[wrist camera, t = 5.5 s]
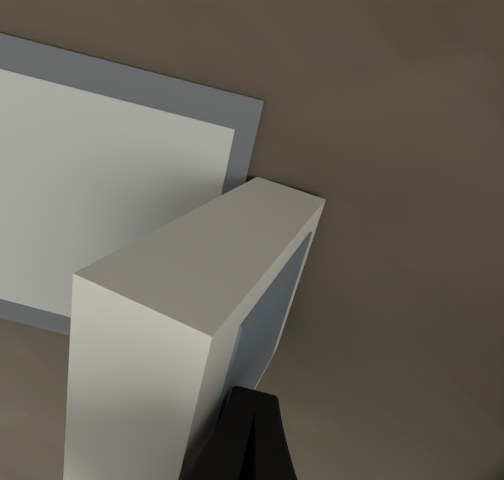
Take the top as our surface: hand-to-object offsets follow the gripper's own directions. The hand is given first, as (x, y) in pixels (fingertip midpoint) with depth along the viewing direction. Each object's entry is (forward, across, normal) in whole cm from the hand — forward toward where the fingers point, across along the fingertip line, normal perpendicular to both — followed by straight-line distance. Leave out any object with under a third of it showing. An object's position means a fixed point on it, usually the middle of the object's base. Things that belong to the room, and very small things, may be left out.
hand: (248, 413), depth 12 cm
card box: (+10, 0, 0) cm, 10 cm away
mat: (+10, +11, 0) cm, 15 cm away
